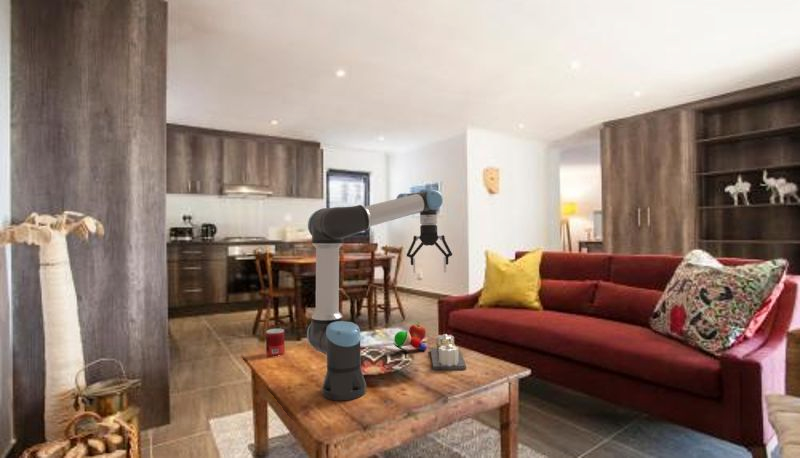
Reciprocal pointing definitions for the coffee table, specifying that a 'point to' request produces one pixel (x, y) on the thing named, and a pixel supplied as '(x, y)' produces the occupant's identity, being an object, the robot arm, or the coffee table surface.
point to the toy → (408, 341)
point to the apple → (417, 331)
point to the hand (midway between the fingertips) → (429, 272)
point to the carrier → (448, 342)
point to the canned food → (275, 342)
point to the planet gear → (448, 355)
